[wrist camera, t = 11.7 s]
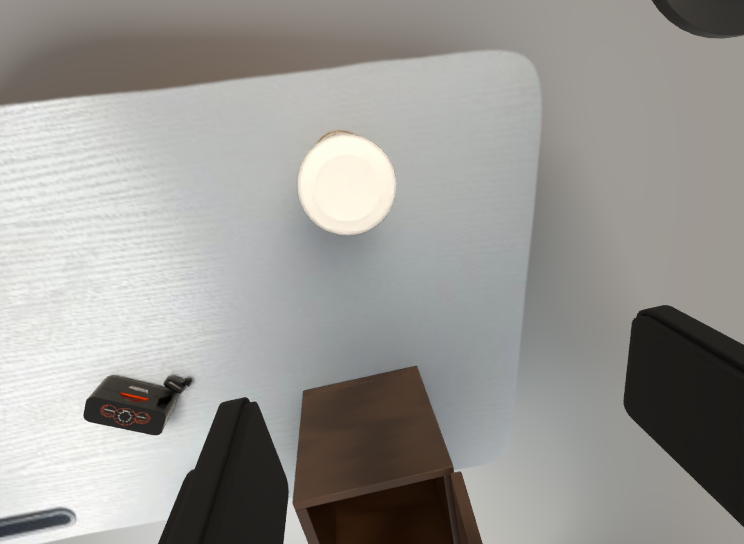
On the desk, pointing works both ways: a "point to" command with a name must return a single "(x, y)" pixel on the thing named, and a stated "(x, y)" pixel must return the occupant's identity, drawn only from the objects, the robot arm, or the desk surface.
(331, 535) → the chest
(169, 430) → the desk surface
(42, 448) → the desk surface
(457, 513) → the lid
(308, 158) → the sprinkles bottle
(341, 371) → the desk surface
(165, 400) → the wireless earbuds
